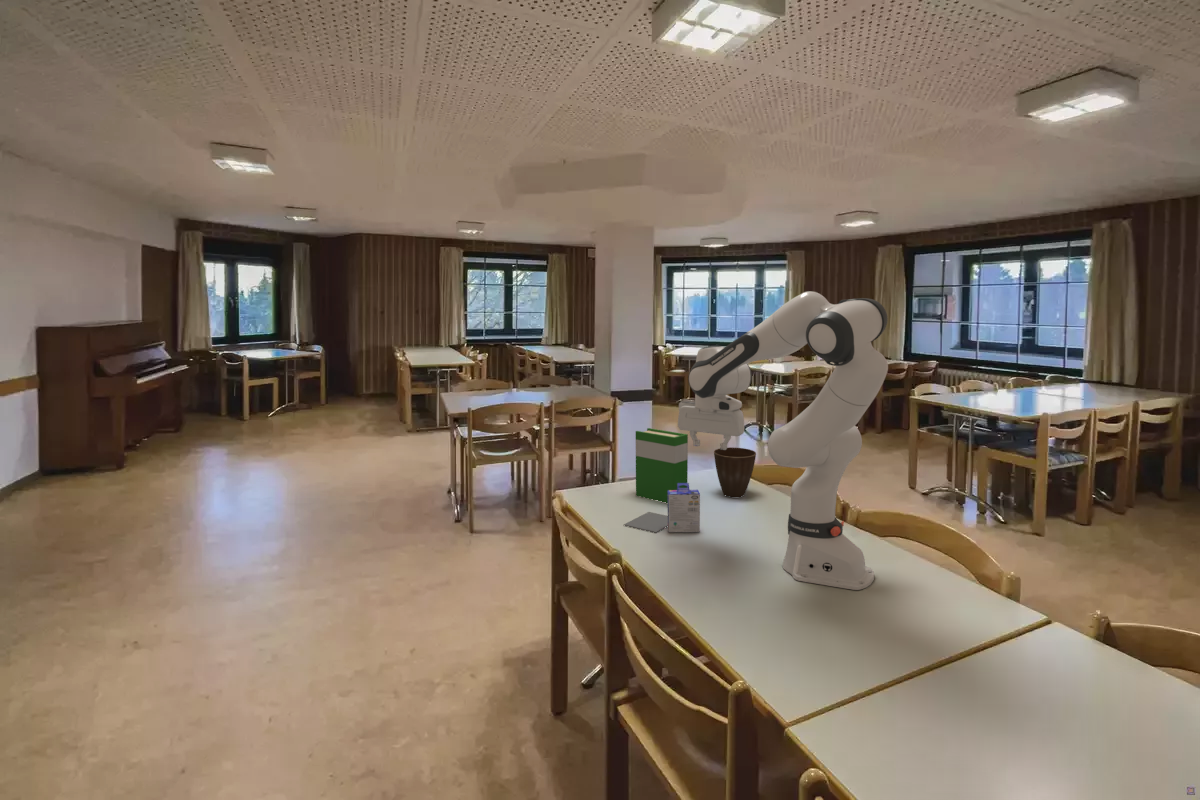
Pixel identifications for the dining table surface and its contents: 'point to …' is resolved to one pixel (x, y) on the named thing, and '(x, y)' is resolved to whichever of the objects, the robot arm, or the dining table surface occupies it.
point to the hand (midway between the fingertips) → (709, 447)
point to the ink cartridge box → (683, 509)
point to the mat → (649, 522)
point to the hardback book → (660, 463)
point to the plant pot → (734, 469)
